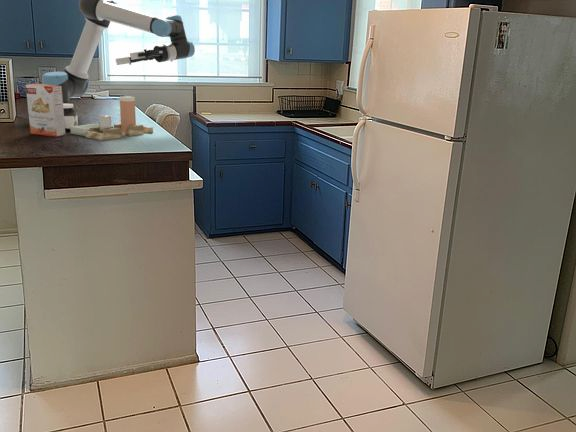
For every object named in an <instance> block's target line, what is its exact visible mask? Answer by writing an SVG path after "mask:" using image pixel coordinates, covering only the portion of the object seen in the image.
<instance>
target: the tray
mask: <svg viewBox="0 0 576 432" xmlns="http://www.w3.org/2000/svg"><path fill="white" fill-rule="evenodd" d="M98 126H99V123H88V124H82V125H78V126H72V127H70V132H69V133H70V134H71V135H77V136H83V137H86V132H85V131H90V127H98ZM111 128H114V125H111Z"/></svg>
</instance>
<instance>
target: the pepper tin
mask: <svg viewBox="0 0 576 432" xmlns="http://www.w3.org/2000/svg"><path fill="white" fill-rule="evenodd" d="M97 117H98V120H97V121H98V124H99V133H103V129H111V126H112V118H111V117H112V116H111V115H108V114H107V115H105V114H102V115H98V116H97Z"/></svg>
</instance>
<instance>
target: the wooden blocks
mask: <svg viewBox="0 0 576 432" xmlns="http://www.w3.org/2000/svg"><path fill="white" fill-rule="evenodd" d="M126 131H127V135H126V134H125V131H121V123H115V124H113V128H111V129H103V133H99V126H98V127H90V131H85V132H86V136H85V138H89V139H95V140H101V141H108V140H113V139H120V138H126V136H127V137H132V136H140V135H144V133H146V134H153V133H154V127H153V126H145V125H144V124H136V125H133V126H126Z"/></svg>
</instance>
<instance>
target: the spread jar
mask: <svg viewBox="0 0 576 432" xmlns="http://www.w3.org/2000/svg"><path fill="white" fill-rule="evenodd" d="M63 109H64V121H65V133H68V132H69V133H71V132H70V127H72V126H79V125H78V124H79V121H78V119H79V117H78V113H77V111H76V109H74V104H73V103H70V104H63Z"/></svg>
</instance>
